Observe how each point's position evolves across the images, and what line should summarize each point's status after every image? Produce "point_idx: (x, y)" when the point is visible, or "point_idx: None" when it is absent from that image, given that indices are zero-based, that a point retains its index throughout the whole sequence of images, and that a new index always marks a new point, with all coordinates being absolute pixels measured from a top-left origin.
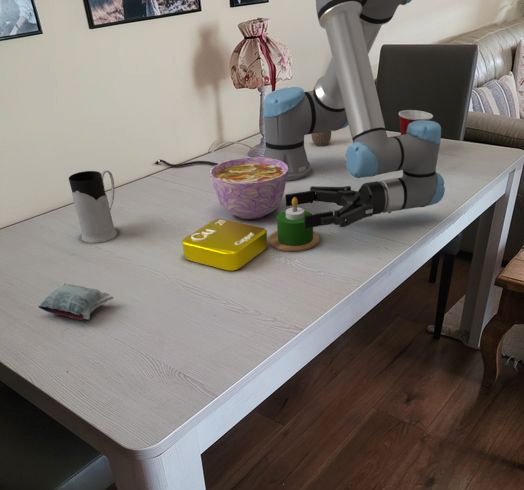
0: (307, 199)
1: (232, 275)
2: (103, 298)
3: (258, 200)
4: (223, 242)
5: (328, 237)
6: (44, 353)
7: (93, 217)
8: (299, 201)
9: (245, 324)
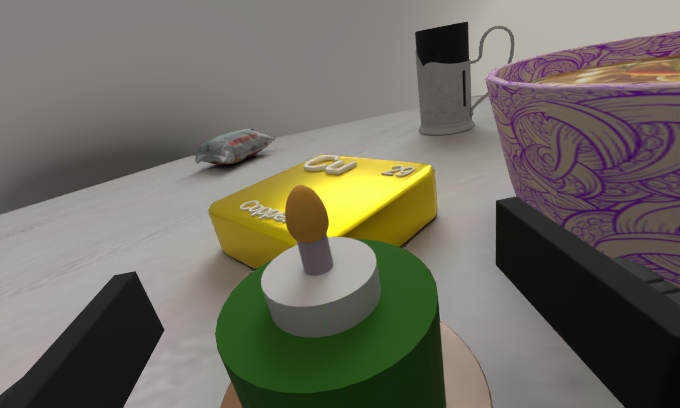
0: (611, 357)
1: (208, 248)
2: (221, 156)
3: (525, 176)
4: (275, 189)
5: None
6: (180, 164)
7: (419, 92)
8: (552, 305)
9: (20, 275)
